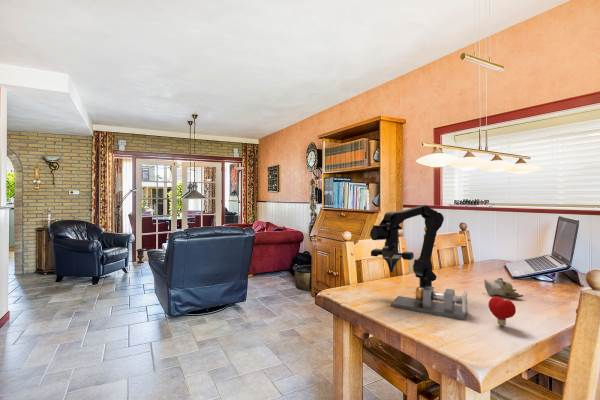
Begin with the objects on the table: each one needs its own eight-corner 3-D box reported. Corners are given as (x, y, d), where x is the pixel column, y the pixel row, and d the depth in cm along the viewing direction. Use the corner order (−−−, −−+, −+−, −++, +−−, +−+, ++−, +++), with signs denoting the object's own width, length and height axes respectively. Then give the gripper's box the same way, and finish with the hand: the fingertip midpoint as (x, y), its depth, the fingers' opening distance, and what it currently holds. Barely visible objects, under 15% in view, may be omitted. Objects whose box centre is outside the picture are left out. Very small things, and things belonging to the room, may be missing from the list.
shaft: (418, 298, 140) (418, 285, 140) (462, 305, 131) (462, 291, 131) (415, 302, 136) (415, 288, 136) (461, 309, 127) (461, 295, 127)
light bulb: (483, 322, 121) (483, 295, 121) (496, 320, 123) (497, 293, 123) (506, 332, 112) (507, 303, 112) (520, 329, 115) (521, 301, 114)
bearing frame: (398, 298, 148) (398, 280, 148) (467, 310, 133) (467, 290, 133) (390, 306, 138) (390, 286, 138) (464, 320, 123) (464, 297, 123)
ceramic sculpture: (481, 273, 160) (516, 277, 156) (480, 290, 161) (515, 295, 156) (487, 279, 150) (525, 283, 146) (486, 297, 150) (523, 302, 146)
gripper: (366, 239, 151) (366, 273, 151) (408, 243, 141) (407, 279, 141) (374, 237, 160) (374, 268, 160) (414, 240, 150) (413, 273, 150)
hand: (391, 272), depth 153 cm, fingers closed
